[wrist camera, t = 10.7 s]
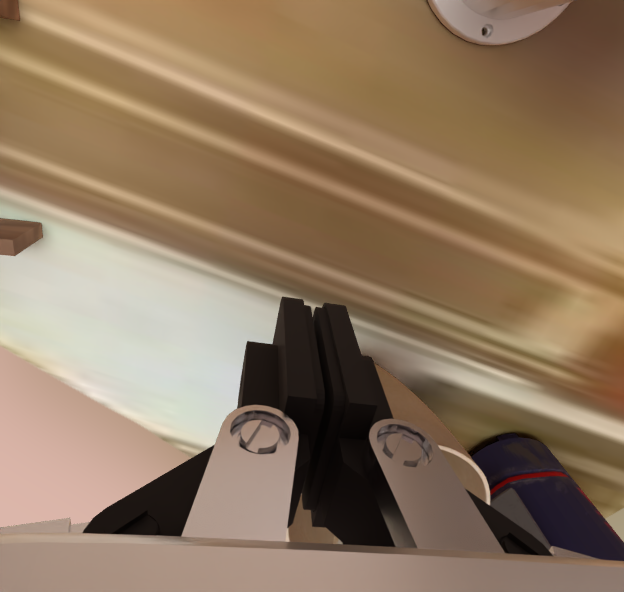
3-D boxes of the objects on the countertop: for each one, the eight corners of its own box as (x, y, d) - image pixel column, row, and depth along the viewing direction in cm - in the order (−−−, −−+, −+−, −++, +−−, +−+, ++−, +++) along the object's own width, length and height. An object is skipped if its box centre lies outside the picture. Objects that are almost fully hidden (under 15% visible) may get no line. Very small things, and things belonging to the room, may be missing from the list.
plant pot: (257, 426, 46) (256, 577, 32) (304, 305, 41) (328, 421, 26) (384, 452, 50) (434, 598, 35) (442, 343, 44) (530, 465, 30)
